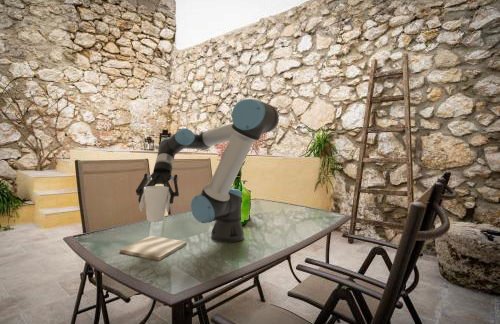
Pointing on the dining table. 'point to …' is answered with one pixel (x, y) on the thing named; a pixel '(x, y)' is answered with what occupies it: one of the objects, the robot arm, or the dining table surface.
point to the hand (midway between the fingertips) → (154, 209)
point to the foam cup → (155, 202)
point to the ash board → (153, 247)
